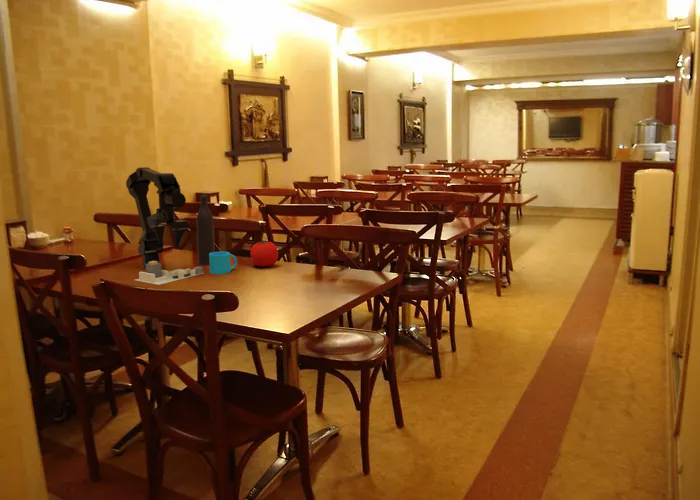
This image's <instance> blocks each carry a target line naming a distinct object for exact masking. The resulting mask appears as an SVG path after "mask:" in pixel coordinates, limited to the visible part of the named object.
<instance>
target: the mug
mask: <svg viewBox="0 0 700 500" xmlns="http://www.w3.org/2000/svg"><path fill="white" fill-rule="evenodd" d="M231 257H232V258H233V260H234V261H233V262H234V263H233V265H232V266H231ZM209 262H210V265H209V273H210V274H213V275H224V274H229V273H231V271H232V270H234V268H236V266H237V265H238V259H237V257H236V256H235V255H234V254H232V253H230V251H215V252H212V253H210V254H209Z"/></svg>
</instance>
